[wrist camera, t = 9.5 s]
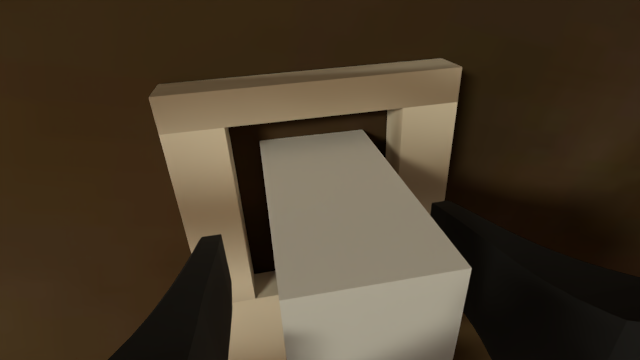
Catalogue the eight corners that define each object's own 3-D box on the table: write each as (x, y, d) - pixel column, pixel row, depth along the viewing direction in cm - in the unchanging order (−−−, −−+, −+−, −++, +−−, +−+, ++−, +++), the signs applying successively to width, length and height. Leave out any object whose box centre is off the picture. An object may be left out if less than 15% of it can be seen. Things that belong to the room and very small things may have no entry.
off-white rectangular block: (360, 243, 17) (440, 420, 11) (274, 256, 17) (298, 452, 10) (362, 129, 15) (472, 267, 8) (259, 140, 14) (279, 300, 7)
